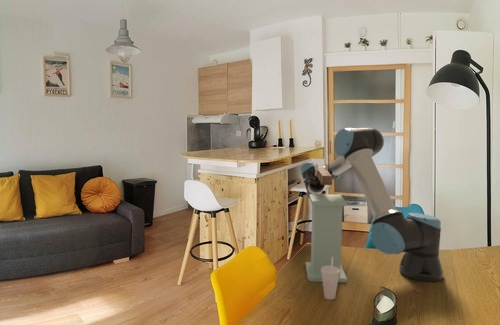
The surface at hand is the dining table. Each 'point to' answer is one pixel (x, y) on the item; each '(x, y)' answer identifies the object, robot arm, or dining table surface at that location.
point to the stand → (325, 235)
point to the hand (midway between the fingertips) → (321, 167)
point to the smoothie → (330, 280)
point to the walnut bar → (324, 176)
